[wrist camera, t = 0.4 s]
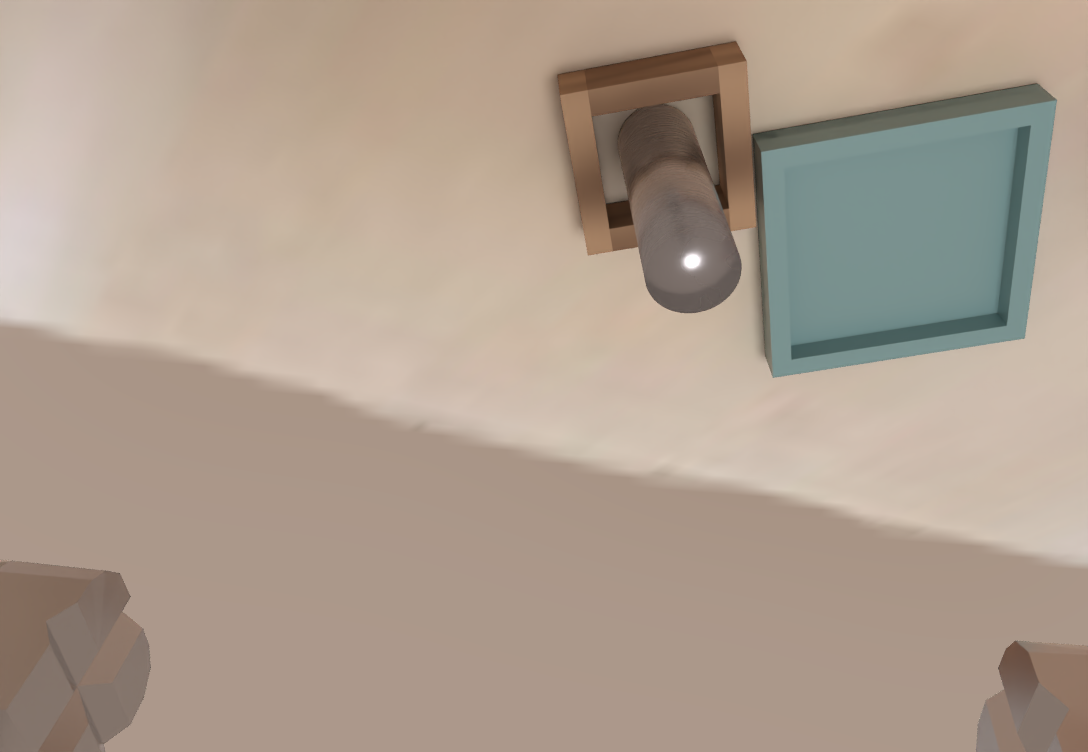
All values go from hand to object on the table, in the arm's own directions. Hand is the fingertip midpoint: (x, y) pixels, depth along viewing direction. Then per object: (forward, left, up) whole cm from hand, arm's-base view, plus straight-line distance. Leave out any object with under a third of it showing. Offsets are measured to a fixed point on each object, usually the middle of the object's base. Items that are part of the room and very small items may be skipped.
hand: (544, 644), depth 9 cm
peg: (+12, +4, -38) cm, 40 cm away
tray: (+19, +15, -38) cm, 45 cm away
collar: (+12, +4, -38) cm, 40 cm away
